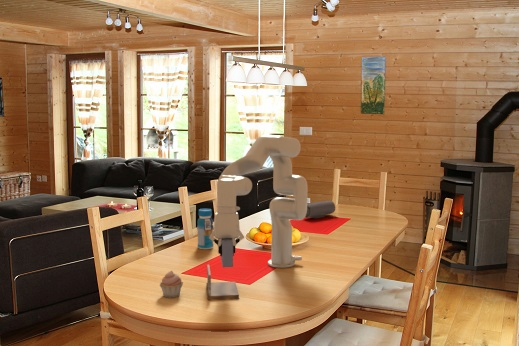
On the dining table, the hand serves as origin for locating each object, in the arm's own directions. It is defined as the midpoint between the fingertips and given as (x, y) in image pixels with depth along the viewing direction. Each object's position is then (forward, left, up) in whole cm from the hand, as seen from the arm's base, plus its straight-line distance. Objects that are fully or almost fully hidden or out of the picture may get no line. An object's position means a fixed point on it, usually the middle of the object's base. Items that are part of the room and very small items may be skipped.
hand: (226, 254), depth 231 cm
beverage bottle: (+6, -69, -16) cm, 71 cm away
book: (0, 0, -3) cm, 3 cm away
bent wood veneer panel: (+2, 0, -15) cm, 16 cm away
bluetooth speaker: (-69, -135, -16) cm, 153 cm away
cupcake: (+22, +1, -16) cm, 27 cm away
